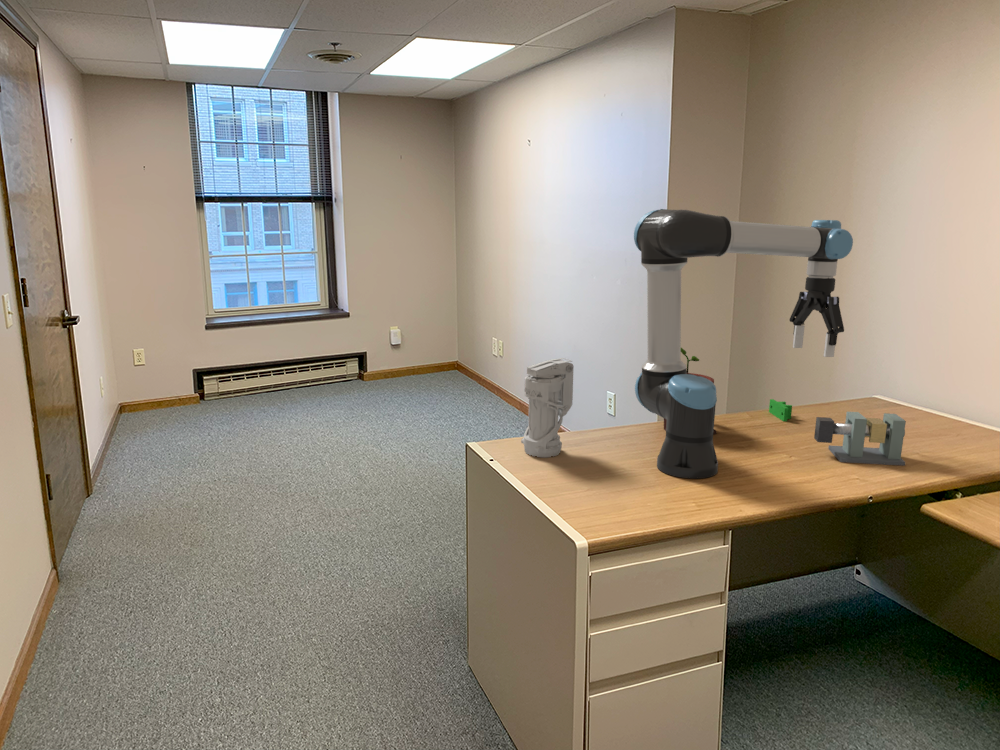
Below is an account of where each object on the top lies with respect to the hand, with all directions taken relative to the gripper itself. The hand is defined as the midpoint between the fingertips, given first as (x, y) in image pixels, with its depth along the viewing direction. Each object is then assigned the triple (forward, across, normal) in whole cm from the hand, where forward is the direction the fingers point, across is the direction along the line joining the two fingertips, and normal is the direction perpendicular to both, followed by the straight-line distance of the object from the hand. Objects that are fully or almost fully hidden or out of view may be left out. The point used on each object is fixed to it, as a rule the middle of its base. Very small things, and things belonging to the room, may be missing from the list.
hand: (812, 352), depth 205 cm
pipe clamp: (+26, +22, -8) cm, 35 cm away
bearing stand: (+26, -18, -6) cm, 32 cm away
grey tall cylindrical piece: (+26, +6, +76) cm, 81 cm away
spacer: (+21, -18, -8) cm, 29 cm away
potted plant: (+26, +17, +28) cm, 42 cm away
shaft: (+22, -17, -4) cm, 28 cm away
